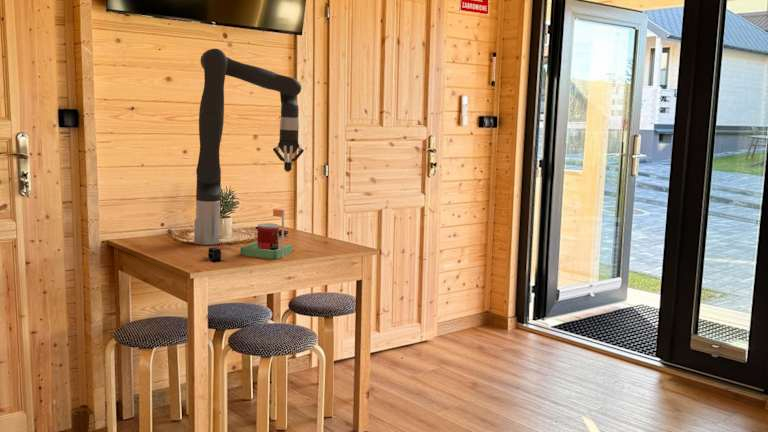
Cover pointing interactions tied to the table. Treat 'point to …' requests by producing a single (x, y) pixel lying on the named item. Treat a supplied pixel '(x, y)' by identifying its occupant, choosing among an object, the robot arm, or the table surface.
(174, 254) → the table surface
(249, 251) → the green u-shaped frame
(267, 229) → the canned food
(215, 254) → the black block
